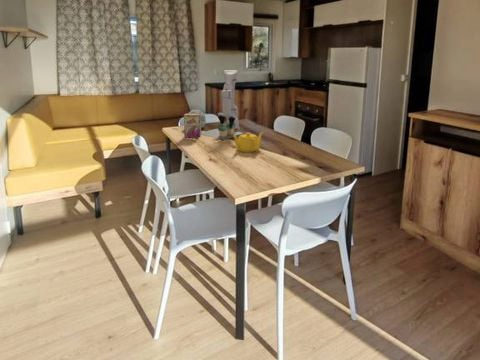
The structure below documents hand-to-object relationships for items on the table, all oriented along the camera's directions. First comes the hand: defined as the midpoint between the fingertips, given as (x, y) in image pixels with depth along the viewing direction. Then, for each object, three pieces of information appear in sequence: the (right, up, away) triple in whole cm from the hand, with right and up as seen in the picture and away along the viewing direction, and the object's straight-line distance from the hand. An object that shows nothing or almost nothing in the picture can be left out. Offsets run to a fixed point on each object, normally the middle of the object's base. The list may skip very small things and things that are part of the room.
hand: (226, 127), depth 276 cm
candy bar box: (-24, -8, -2) cm, 25 cm away
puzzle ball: (-24, +1, +25) cm, 35 cm away
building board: (-5, -5, +6) cm, 10 cm away
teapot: (+15, -19, -35) cm, 43 cm away
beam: (0, -1, 0) cm, 2 cm away
